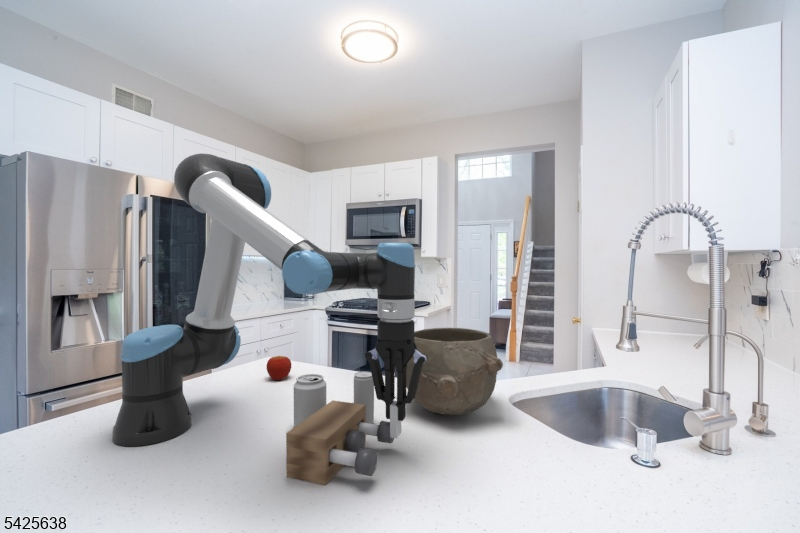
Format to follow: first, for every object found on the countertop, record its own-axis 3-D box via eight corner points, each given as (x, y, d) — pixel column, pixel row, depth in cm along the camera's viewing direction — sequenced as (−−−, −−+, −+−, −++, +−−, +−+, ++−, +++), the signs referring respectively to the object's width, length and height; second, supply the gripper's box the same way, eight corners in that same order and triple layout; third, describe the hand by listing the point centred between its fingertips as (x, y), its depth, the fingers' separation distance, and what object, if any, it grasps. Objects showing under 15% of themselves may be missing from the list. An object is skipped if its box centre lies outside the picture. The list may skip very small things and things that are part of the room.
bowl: (379, 399, 108) (379, 328, 107) (465, 386, 119) (465, 322, 119) (422, 440, 83) (422, 348, 82) (526, 419, 94) (526, 338, 94)
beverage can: (363, 418, 95) (363, 370, 94) (378, 423, 91) (378, 373, 91) (349, 424, 91) (349, 374, 91) (363, 430, 88) (363, 378, 88)
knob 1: (306, 449, 75) (306, 428, 75) (317, 440, 79) (317, 420, 79) (356, 458, 71) (356, 437, 71) (365, 448, 75) (365, 428, 75)
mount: (286, 477, 69) (286, 432, 69) (332, 436, 85) (332, 400, 85) (325, 485, 66) (325, 439, 66) (365, 441, 82) (365, 404, 82)
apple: (296, 377, 127) (296, 354, 127) (277, 384, 121) (277, 359, 121) (280, 374, 132) (280, 351, 131) (261, 380, 125) (261, 356, 125)
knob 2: (312, 469, 68) (312, 447, 68) (323, 458, 71) (323, 437, 71) (368, 480, 64) (368, 457, 64) (377, 468, 68) (377, 446, 68)
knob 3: (340, 438, 79) (340, 419, 79) (348, 430, 83) (348, 412, 83) (388, 447, 76) (388, 427, 76) (395, 438, 80) (395, 419, 79)
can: (318, 436, 85) (318, 383, 84) (287, 433, 86) (287, 380, 86) (331, 422, 92) (331, 373, 92) (302, 420, 93) (302, 371, 93)
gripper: (358, 320, 76) (358, 438, 76) (422, 323, 71) (421, 449, 72) (373, 315, 83) (373, 423, 83) (431, 318, 78) (431, 432, 79)
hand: (395, 435), depth 77 cm, fingers closed
